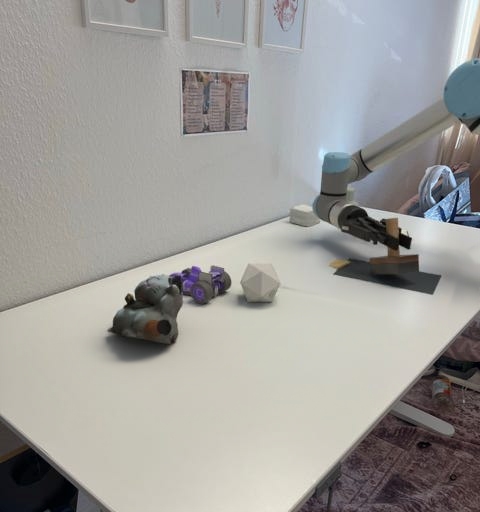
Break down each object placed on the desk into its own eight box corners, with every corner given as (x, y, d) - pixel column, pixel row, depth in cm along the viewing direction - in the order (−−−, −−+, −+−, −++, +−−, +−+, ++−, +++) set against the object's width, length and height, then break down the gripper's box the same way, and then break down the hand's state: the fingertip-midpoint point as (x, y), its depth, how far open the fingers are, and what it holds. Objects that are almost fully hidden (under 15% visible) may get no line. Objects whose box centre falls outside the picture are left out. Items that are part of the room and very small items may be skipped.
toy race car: (181, 277, 118) (180, 252, 115) (231, 292, 111) (232, 265, 108) (155, 290, 111) (153, 264, 108) (207, 306, 104) (207, 278, 101)
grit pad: (350, 263, 126) (350, 261, 125) (338, 269, 123) (337, 266, 123) (335, 261, 130) (335, 259, 129) (323, 267, 127) (323, 264, 127)
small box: (320, 222, 165) (321, 208, 163) (306, 227, 160) (308, 212, 158) (302, 218, 170) (303, 203, 167) (288, 222, 165) (289, 207, 162)
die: (266, 314, 102) (292, 274, 102) (231, 292, 102) (256, 252, 101) (263, 310, 111) (286, 274, 110) (230, 290, 110) (253, 253, 109)
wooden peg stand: (419, 270, 114) (417, 215, 112) (399, 274, 111) (396, 217, 109) (390, 271, 122) (387, 219, 120) (370, 274, 118) (367, 220, 116)
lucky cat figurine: (100, 329, 93) (118, 260, 93) (158, 340, 99) (174, 275, 99) (120, 342, 80) (140, 262, 80) (185, 355, 86) (204, 280, 86)
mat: (440, 279, 121) (441, 275, 121) (432, 298, 110) (432, 294, 110) (348, 261, 131) (349, 258, 131) (332, 277, 120) (332, 274, 120)
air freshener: (357, 214, 176) (361, 187, 171) (358, 220, 169) (362, 191, 164) (327, 212, 178) (330, 185, 173) (327, 218, 170) (330, 190, 166)
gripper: (371, 229, 135) (427, 256, 116) (322, 234, 130) (372, 263, 111) (375, 202, 132) (434, 225, 112) (325, 206, 127) (377, 231, 107)
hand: (403, 244), depth 112 cm, fingers closed on wooden peg stand, 3 cm apart
